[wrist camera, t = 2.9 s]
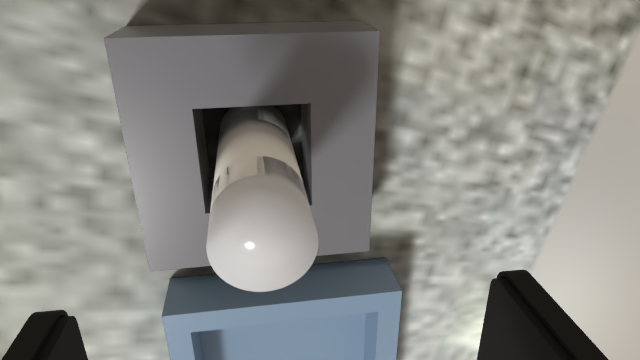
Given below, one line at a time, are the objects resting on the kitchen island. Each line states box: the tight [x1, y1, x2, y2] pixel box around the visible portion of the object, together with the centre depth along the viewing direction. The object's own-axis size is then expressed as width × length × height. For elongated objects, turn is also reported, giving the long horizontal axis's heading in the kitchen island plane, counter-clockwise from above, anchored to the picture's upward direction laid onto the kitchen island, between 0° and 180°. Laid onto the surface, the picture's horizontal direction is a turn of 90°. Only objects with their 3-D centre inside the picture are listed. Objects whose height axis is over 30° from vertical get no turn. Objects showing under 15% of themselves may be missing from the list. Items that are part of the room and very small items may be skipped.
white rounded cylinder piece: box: [206, 105, 318, 292], centre depth 18 cm, size 3×3×10 cm
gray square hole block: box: [104, 21, 380, 271], centre depth 21 cm, size 10×10×4 cm
